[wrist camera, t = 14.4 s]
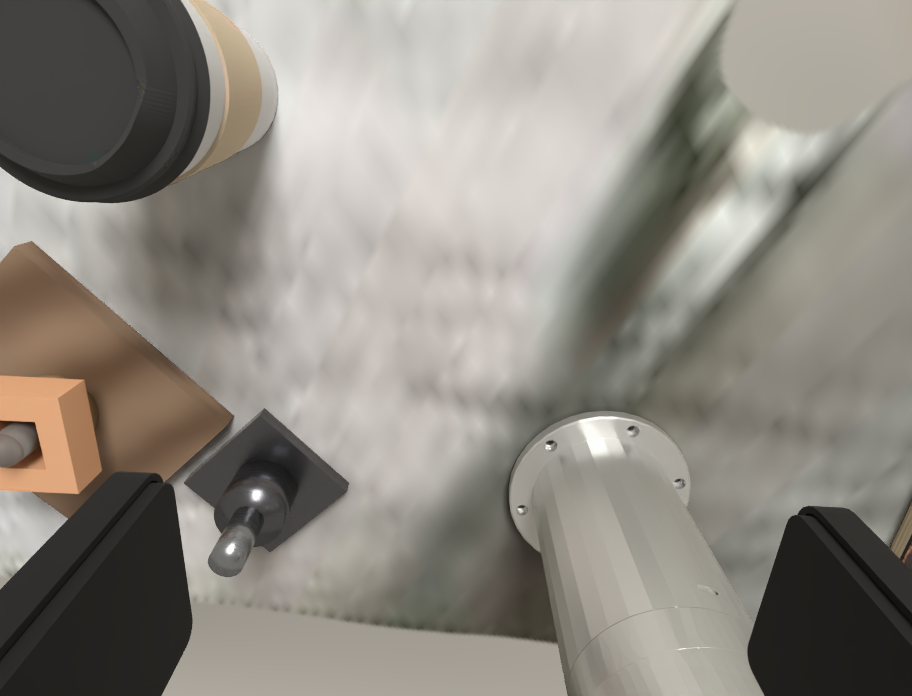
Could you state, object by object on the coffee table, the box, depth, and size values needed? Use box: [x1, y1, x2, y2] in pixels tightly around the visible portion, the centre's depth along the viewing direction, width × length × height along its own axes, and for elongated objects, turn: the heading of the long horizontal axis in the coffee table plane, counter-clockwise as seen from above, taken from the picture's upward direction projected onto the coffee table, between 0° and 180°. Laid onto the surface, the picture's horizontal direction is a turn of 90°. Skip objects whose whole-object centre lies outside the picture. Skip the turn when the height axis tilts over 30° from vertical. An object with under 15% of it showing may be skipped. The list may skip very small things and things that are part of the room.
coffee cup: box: [0, 0, 278, 203], centre depth 26 cm, size 9×9×15 cm
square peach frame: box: [0, 376, 102, 494], centre depth 35 cm, size 6×6×2 cm
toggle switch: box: [0, 241, 234, 519], centre depth 36 cm, size 16×14×8 cm
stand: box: [184, 408, 349, 577], centre depth 38 cm, size 8×8×8 cm
